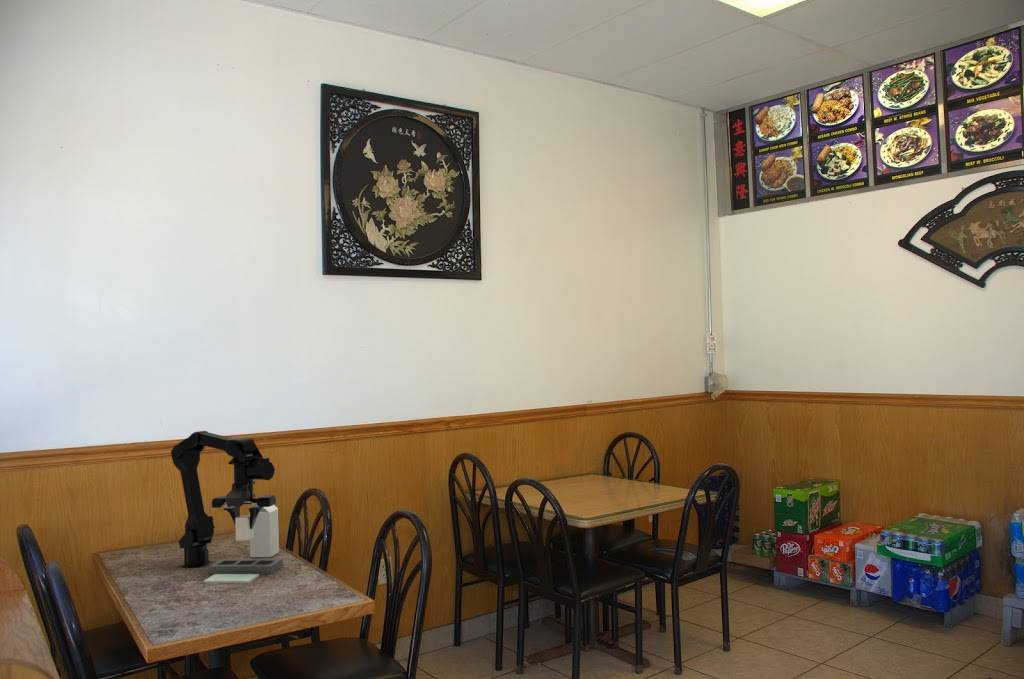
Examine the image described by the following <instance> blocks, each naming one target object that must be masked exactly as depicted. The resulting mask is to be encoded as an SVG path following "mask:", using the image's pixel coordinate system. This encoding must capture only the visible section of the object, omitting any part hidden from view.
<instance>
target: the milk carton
mask: <svg viewBox="0 0 1024 679" xmlns="http://www.w3.org/2000/svg"><path fill="white" fill-rule="evenodd" d="M248 515H250V512H249V514H248ZM253 527H254V537H253V538H252V539H250V540H249V557H250V558H272V557H273V556H275V555H277V554H278V553H279V552H280V549H279V548H280V543H279V542H280V541H279V540H280V538H279V537H280V536H279V534H280V533H279V508H278V507H277V506H276V504H274V505H272V506H270V507H263V508H261V510H260V512H259V514H258V516H257V518H256V521H255V523H254V526H253Z"/></svg>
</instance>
